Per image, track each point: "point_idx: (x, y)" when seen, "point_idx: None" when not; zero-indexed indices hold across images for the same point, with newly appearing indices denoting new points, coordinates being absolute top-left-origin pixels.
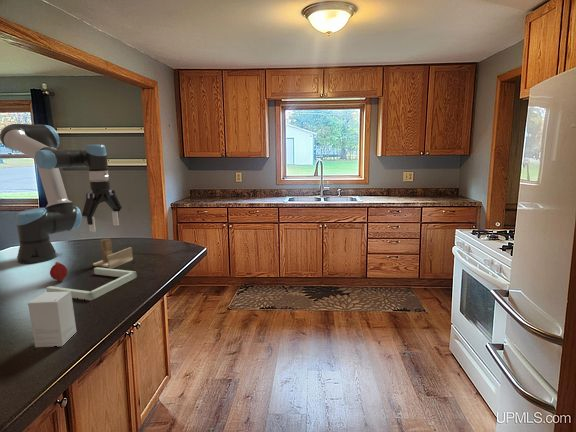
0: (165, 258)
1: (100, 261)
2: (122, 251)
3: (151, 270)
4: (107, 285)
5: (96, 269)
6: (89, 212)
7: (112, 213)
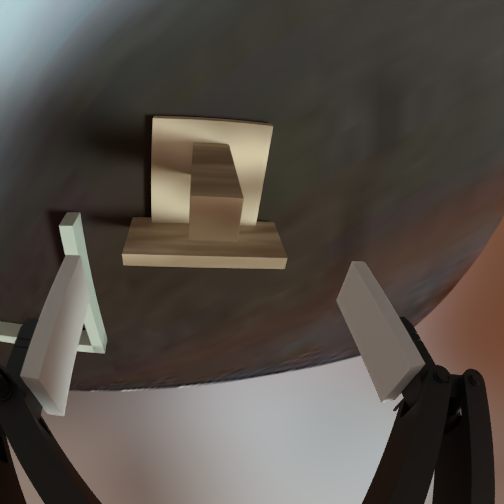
0: (293, 320)
1: (193, 129)
2: (215, 265)
3: (170, 342)
4: (10, 342)
5: (62, 235)
6: (8, 455)
7: (398, 354)
